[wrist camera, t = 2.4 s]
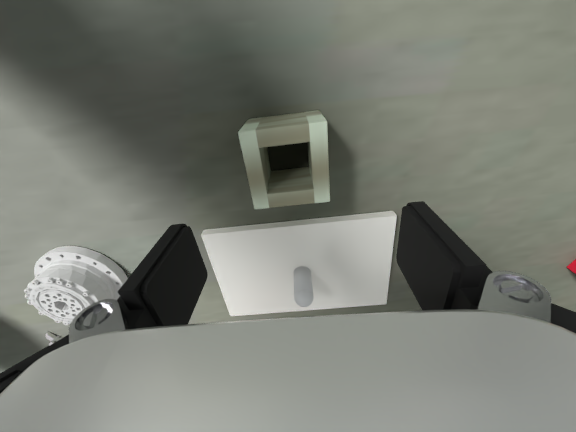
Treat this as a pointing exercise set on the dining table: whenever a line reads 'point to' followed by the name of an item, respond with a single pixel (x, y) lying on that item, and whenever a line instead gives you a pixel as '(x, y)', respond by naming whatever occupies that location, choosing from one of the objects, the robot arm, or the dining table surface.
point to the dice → (572, 266)
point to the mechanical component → (72, 282)
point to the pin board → (303, 263)
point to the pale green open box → (290, 182)
